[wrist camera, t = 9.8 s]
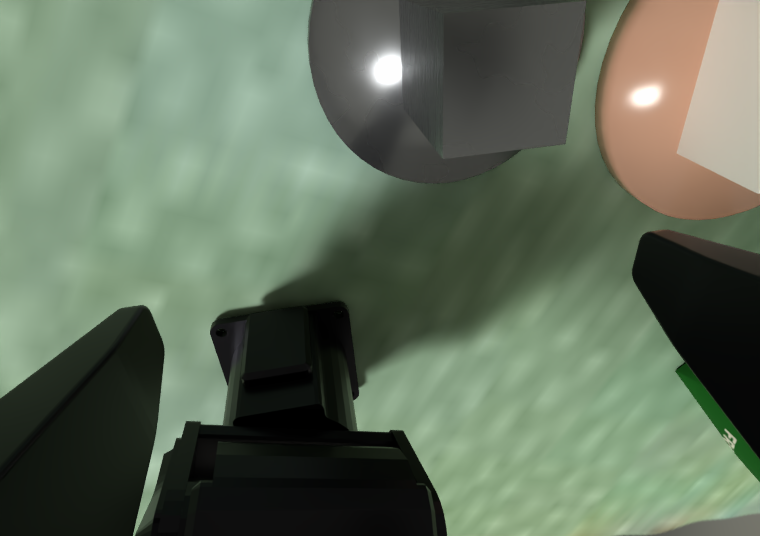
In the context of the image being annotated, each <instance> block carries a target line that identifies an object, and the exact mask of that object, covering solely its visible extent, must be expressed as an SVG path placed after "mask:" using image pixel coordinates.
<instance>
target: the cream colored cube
mask: <svg viewBox="0 0 760 536" xmlns="http://www.w3.org/2000/svg"><path fill="white" fill-rule="evenodd" d="M677 154H679V155H681V156H683V157H685V158H687V159H689V160H691V161H693V162H695V163H697V164H699V165H701V166H703V167H705V168H707V169H709V170H711V171H713V172H715V173H717V174H719V175H721V176H723V177H725V178H727V179H729V180H731V181H733V182H735V183H737V184H739V185H741V186H743V187H745V188H747V189H749V190H751V191H753V192H755V193H757V194H760V0H719V3H718V6H717V10H716V14H715V17H714V21H713V24H712V28H711V31H710V35H709V39H708V42H707V46H706V49H705V53H704V56H703V60H702V64H701V67H700V71H699V74H698V78H697V81H696V85H695V89H694V92H693V96H692V99H691V103H690V106H689V110H688V114H687V117H686V121H685V124H684V128H683V132H682V135H681V139H680V142H679V146H678V149H677Z"/></svg>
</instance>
